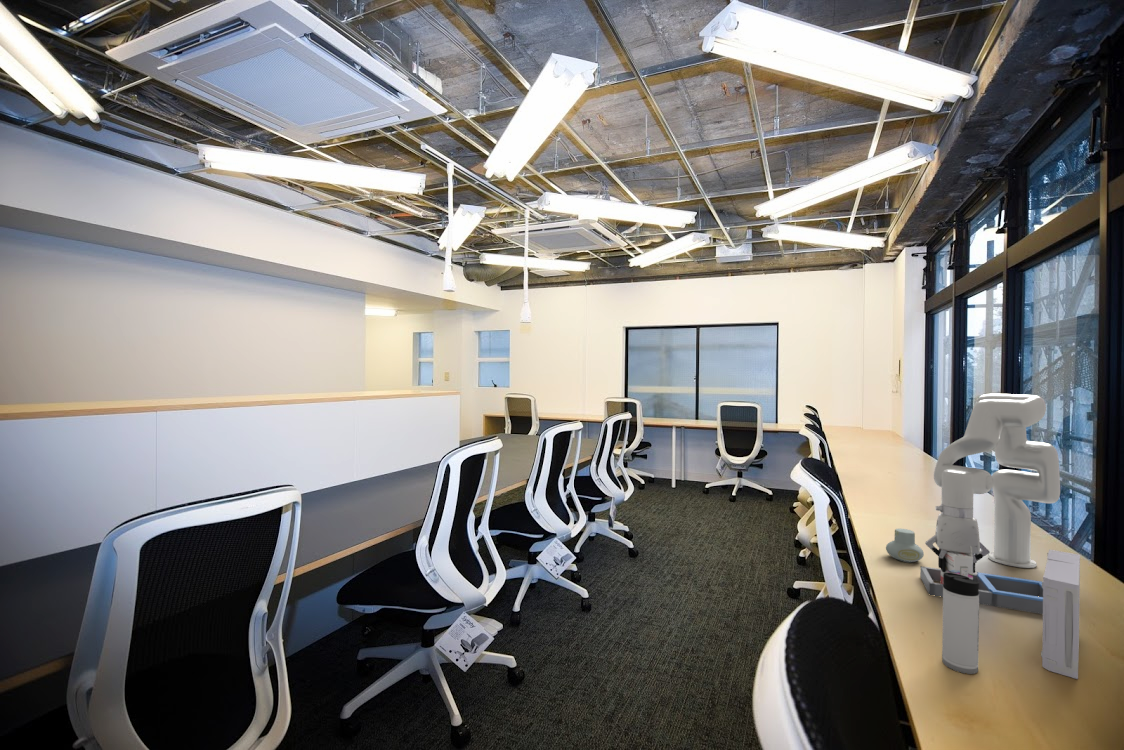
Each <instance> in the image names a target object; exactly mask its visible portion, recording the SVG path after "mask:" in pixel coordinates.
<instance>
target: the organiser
mask: <svg viewBox="0 0 1124 750" xmlns="http://www.w3.org/2000/svg"><path fill="white" fill-rule="evenodd" d="M919 569H920V571H919V572H920V576H919V577H920V579H921V581H922V583H923V585H924V587H925V589H926V591H927V594H928V595H929V594H930V595H935V596H934V597H936V596H941V597H940V598H942V597H943V584H941V583H939V582H941V568H935V567H930V566H922V565H920V568H919ZM973 580H974V581H977V582H979V590H978V591H979V605H985V606H990V607H998V608H1003V609H1008V610H1016V611H1020V612H1021V611H1022V612H1027V613H1033V614H1040V615H1043V588H1042V582H1043V580H1042V581H1040V580H1034V579H1026V578H1020V577H1014V576H1013V577H1012V576H1006V575H999V574H992V573H986V572H977V573H973ZM930 595H929V596H930ZM1038 596H1039V597H1038Z"/></svg>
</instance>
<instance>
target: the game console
mask: <svg viewBox="0 0 1124 750" xmlns="http://www.w3.org/2000/svg"><path fill="white" fill-rule="evenodd" d="M1046 554H1047V556H1046V557H1047V558H1046V559H1047V560H1046V563H1045V564H1046V565H1045V570H1044V573H1043V576H1042V578H1043V579H1042V588H1043V614H1042V649H1041V651H1040V657H1041V658H1042V659H1041V661H1042V667H1043V668H1044V669H1046V670H1048V671H1049V672H1053V673H1056V674H1059V675H1062V676H1066V677H1069V678H1072V679H1076V680H1078V679H1079V658H1080V657H1079V655H1080V653H1079V652H1080V647H1079V646H1080V594H1081V593H1080V592H1081V589H1080V585H1081V584H1080V581H1081V578H1080V577H1081V574H1080V573H1081V555H1080V554H1077V553H1072V552H1068V551H1067V552H1065V551H1061V550H1056V549H1055V550H1054V549H1048V552H1047V553H1046Z"/></svg>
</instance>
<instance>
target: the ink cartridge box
mask: <svg viewBox="0 0 1124 750" xmlns="http://www.w3.org/2000/svg"><path fill="white" fill-rule="evenodd" d="M970 550H971V553H970V554H969V553H961V552H953V551H947V552H946V554H945V556H944V558H945V559H946V572H942V570H941V581H940V584H944V582H943V575H944V573H955V574H959V575H963V576H966V577H969V579H972V580H973V574H974V573H973V554H972V547H971V546H970Z"/></svg>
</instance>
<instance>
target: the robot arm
mask: <svg viewBox="0 0 1124 750" xmlns="http://www.w3.org/2000/svg"><path fill="white" fill-rule="evenodd" d="M1046 405H1047V404H1046V401H1045V400H1044V399H1043V397H1041V396H1039V395H1036V394H1017V393H1016V394H1014V393H1013V394H1011V393H986V394H982V395H980V396H978V398H977V399H976V402H975V404H974V406H973V408H972V411H971V413H970V416H969V419H968V422H967V425H966V426H967V427H966V429H965V432H964V435H963V437H961V438H959V439H957V440H955V441H954V442H952V443H950V444H949V445H947V446H946V447H945V448H944V449H942V451H941V452H940V454H939V456H938V457H937V462H936V463H935V464H936V465H935V467H934V471H933V480H934V483H935V485H937V486H938V487H940V488H941V500H940V501H941V503H940V505H935V509H934V510H935V511H937V512H940V513H939V514H938V516H937V520H936V526H935V534H934V535H933V536H932V537H930V538H929V539H928V540H926V541H925V545H926V547H928V548H929V549H930V550H931V551H932V552H933V553H934V554H935V555H936V556H937V558H938V569H941V570H942V572H946V559H945V558H944V556H945V554H946V552H947V551H953V552H961V553H969V554H970V553H971V550H970V546H971V547H972V554H973V574H976V563H978V561H980V560H981V559H983V557H986V556H987V557H988V559H989V560H991V561H993V562H994V563H995V562H996V563H998V564H1001V565H1005V566H1009V567H1015V568H1022V569H1033V568H1036V567H1037V561H1035V560H1034V559H1031V548H1032V547H1031V545H1032V543H1031V541H1032V540H1031V538H1032V537H1031V536H1032V535H1031V532H1032V531H1031V530H1032V529H1031V528H1032V521H1031V519H1032V513H1031V510H1030V509H1029V507H1028V506H1027V505H1026V503H1025V502H1024V501H1028V502H1029V501H1030V502H1035V503H1042V504H1054V503H1057V502H1058V500H1059V499H1060V496H1061V477H1060V461H1059V460H1060V459H1059V453H1058V451H1057V449H1056V448H1055V445H1054V446H1053V445H1052V444H1051V443H1047V442H1042V441H1032V440H1029V439H1028V437H1027V428H1028V427H1031V426H1033V425H1035V424H1037V423H1038V422H1040V421H1041V420H1042V419H1043V418H1044V416H1045V415H1046V412H1047V406H1046ZM993 450H994V455H995V456H994V457H995V460H996V462H997V464H999V465H1001V466H1003V467H1007V468H1014V469H999V470H996V471H994V472H993V473H992V474H990V472H988V471H986V470H984V469H982V468H976V467H975V468H974V467H968V466H961V465H954V463H956V462H957V461H958V460H960V459H962V458H966V457H968V456H969V457H970V456H972V455H977V454H982V453H985V452H989V451H993ZM1015 468H1016V469H1022V470H1015ZM1023 470H1029V471H1030V470H1031V471H1035V472H1029V471H1023ZM991 490H992V492H993V500H994V501H993V504H994V505H993V506H994V510H993V511H994V516H993V517H994V520H993V521H994V523H993V524H994V525H993V552H990V550H989V549H988V548H987V547H986V546H985V545H984V544H983V543H982V542H981V541H980V529H979V524H978V519H977V518H975V517H974V495H984V494H987V493H988V492H990V491H991ZM934 544H936V545H937V547H938V548H939V549H938V548H937V547H935V546H934Z"/></svg>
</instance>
